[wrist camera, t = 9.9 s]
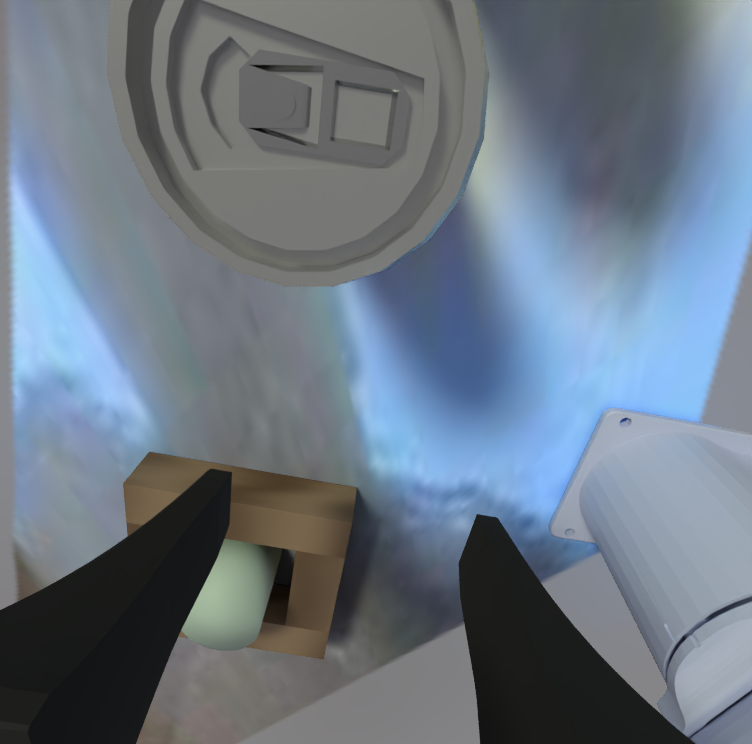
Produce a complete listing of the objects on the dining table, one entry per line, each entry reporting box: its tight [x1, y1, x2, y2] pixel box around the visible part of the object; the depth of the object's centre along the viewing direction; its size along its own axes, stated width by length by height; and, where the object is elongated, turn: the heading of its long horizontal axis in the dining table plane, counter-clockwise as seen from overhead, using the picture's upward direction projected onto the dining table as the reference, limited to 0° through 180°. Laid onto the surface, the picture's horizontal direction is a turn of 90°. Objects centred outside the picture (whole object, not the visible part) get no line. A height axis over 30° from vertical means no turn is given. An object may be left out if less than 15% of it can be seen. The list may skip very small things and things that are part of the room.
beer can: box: [107, 0, 489, 286], centre depth 11 cm, size 5×5×12 cm
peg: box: [181, 539, 283, 651], centre depth 24 cm, size 4×4×5 cm
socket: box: [123, 452, 357, 659], centre depth 25 cm, size 11×11×2 cm
